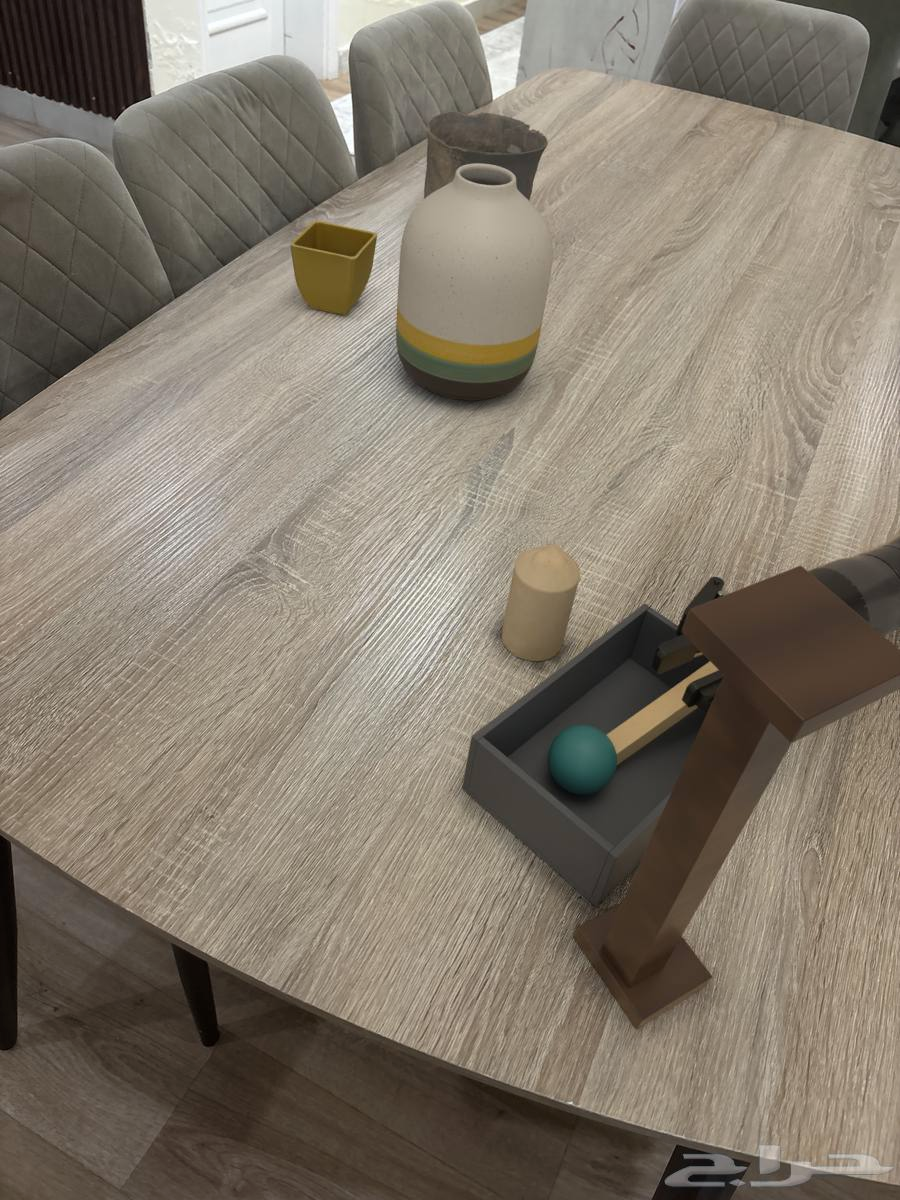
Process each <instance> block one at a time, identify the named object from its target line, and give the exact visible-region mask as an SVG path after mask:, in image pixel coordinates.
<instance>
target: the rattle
mask: <svg viewBox="0 0 900 1200" xmlns="http://www.w3.org/2000/svg"><path fill="white" fill-rule="evenodd" d="M716 671H718V669H717V668H716V667H715V666H714V665H713V664H712V663H711V662H708V663H707V664H705V665H704V666H703V667H701V668H700V669H698V670H697V671H696V672H694V673H693V674H691V675H690V676H689V677H687V678H686V679H684V680H683V681H682V682H680V683H679V684H677V685H676V686H674V687H673V688H672V689H670V690H669V691H667V692H666V693H665V694H663V695H662V696H660V697H659V698H658V699H656V700H655V701H653V702H652V703H651V704H649V705H648V706H646V707H645V708H643V709H642V710H641V711H639V712H638V713H636V714H635V715H634V716H632V717H631V718H629V719H628V720H627V721H625V722H624V723H622V724H621V725H620V726H618V727H617V728H615V729H614V730H612V731H611V732H610V733H608V734H607V735H606V734H605V733H604V732H602V731H601V730H599V729H597V728H595V727H592V726H589V725H575V726H571V727H568V728H566V729H564V730H563V731H561V732H560V733H559V734H558V735H557V736H556V737H555V738H554V739H553V741H552V743H551V745H550V748H549V751H548V767H549V770H550V773H551V775H552V777H553V778H554V780H555V781H556V782H557V784H558V785H560V786H561V787H562V788H563V789H565V790H567V791H569V792H571V793H574V794H580V795H587V794H592V793H595V792H598V791H600V790H601V789H603V788H604V787H605V786H607V784H608V783H609V782H610V781H611V779H612V778H613V776H614V774H615V771H616V767H617V765H618V764H620V763H621V762H622V761H624V760H625V759H627V758H628V757H629V756H631V755H632V754H634V753H635V752H636V751H638V750H639V749H641V748H642V747H643V746H645V745H646V744H648V743H649V742H650V741H652V740H653V739H655V738H656V737H657V736H659V735H660V734H662V733H663V732H664V731H666V730H667V729H669V728H670V727H671V726H673V725H674V724H676V723H677V722H678V721H680V720H681V719H683V718H684V717H685V716H687V715H688V714H690V713H691V712H692V711H694V710H695V709H697V708H698V707H697V706H696V705H695V706H692V707H688V706H687V705H686V704H685V703H684V702H683V701H682V698H683V695H684V693H685V690H686V688H687V686H688V685H689V684H690V683H691V682H693V681H695V680H697V679H700V678H702V677H704V676H706V675H709V674H711V673H713V672H716Z"/></svg>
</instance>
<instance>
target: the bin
mask: <svg viewBox="0 0 900 1200" xmlns="http://www.w3.org/2000/svg"><path fill="white" fill-rule="evenodd" d="M678 626H679V624H677V623H675V622H673V621H672V620H671V619H669V618H668V617H666V616H665V615H663V614H662V613H660V612H659V611H657V610H656V609H655V608H653V607H651V606H650V605H649V604H647V603H643V604H642V605H641V606H639V607H638V608H637V609H635V610H633V612H631V613H630V614H629V615H628V616H626V617H625V618H624V619H622V620H621V621H620V622H618V623H617V624H615V625H614V626H613V627H612V628H611V629H609V630H608V631H607V632H605V633H604V634H603V635H601V636H600V637H599V638H597V639H596V640H595V641H593V642H592V643H591V644H590V645H588V646H586V648H584V649H583V650H582V651H581V652H579V653H578V654H577V655H575V656H574V657H573V658H571V659H570V660H569V661H567V662H566V663H565V664H563V665H562V666H561V667H560V668H558V669H557V670H556V671H554V672H553V673H552V674H551V675H549V676H548V677H546V678H545V679H544V680H543V681H541V682H540V683H538V684H537V685H536V686H534V688H532V689H531V690H529V691H528V692H527V693H525V694H524V695H523V696H522V697H521V698H519V699H518V700H517V701H515V702H514V703H513V704H511V705H510V706H509V707H507V708H506V709H505V710H503V711H502V712H500V714H498V715H497V716H496V717H494V718H493V719H491V721H489V722H487V723H486V724H485V725H483V726H482V727H481V728H480V729H479V730H478V731H476V732H475V733H473V734H471V737H470V742H469V748H468V754H467V759H466V763H465V764H466V765H465V771H464V775H463V781H462V786H461V790H463V791H464V792H465V793H466V794H467V795H469V796H470V797H471V798H472V799H473V800H474V801H475V802H476V803H477V804H478V805H480V806H481V807H482V808H483V809H484V810H485V811H486V812H488V813H489V814H490V815H491V816H492V817H493V818H494V819H496V820H497V821H498V822H499V823H500V824H501V825H502V826H504V828H506V829H507V830H508V831H509V832H510V833H511V834H513V835H514V836H515V838H517V839H518V840H519V841H521V842H522V843H523V844H524V845H525V846H526V847H527V848H528V849H529V850H530V851H532V852H533V853H534V854H535V855H536V856H538V858H540V859H541V861H543V862H544V863H545V864H546V865H548V867H550V868H551V869H552V870H553V871H555V872H556V873H557V874H558V875H559V876H560V877H561V878H563V880H565V881H566V882H567V883H568V884H569V885H570V886H571V887H573V889H575V890H576V891H577V892H578V893H579V894H580V895H581V896H583V897H584V898H585V899H586V900H587V901H588V902H589V903H591V904H592V905H593V906H594V907H595V908H597V907H599V905H600V904H601V903H602V902H603V901H604V900H605V899H606V898H607V897H608V896H609V895H611V893H612V892H613V891H614V890H615V889H616V888H617V887H618V886H619V885H620V884H621V883H622V882H623V881H624V880H625V879H626V878H627V877H628V875H630V874H631V873H632V872H633V871H634V869H635V868H637V867H638V866H639V863H640V861H641V859H642V857H643V855H644V852H645V850H646V848H647V846H648V843H649V841H650V839H651V837H652V835H653V832H654V830H655V828H656V826H657V823H658V821H659V819H660V817H661V815H662V812H663V810H664V808H665V806H666V803H667V801H668V799H669V797H670V795H671V792H672V790H673V788H674V786H675V783H676V781H677V779H678V777H679V775H680V772H681V770H682V768H683V766H684V763H685V761H686V759H687V757H688V755H689V752H690V750H691V748H692V746H693V743H694V741H695V739H696V737H697V735H698V732H699V730H700V728H701V726H702V723H703V721H704V719H705V717H706V715H707V712H708V710H709V708H710V706H711V705H709V706H707V707H704V708H697V709H695V710H694V711H692V712H691V713H690V714H688V715H687V716H685V717H684V718H683V719H681V720H680V721H678V722H677V723H676V724H674V725H673V726H671V727H670V728H669V729H667V730H666V731H664V732H663V733H662V734H660V735H659V736H657V737H656V738H655V739H653V740H652V741H650V742H649V743H648V744H646V745H645V746H643V747H642V748H641V749H639V750H638V751H636V752H635V753H634V754H632V755H631V756H629V757H628V758H627V759H625V760H624V761H622V762H621V763H620V764H618V765H617V767H616V771H615V774H614V776H613V778H612V779H611V781H610V782H609V783H608V784H607V786H605V787H604V788H603V789H601V790H600V791H598V792H595V793H592V794H587V795H580V794H574V793H571V792H569V791H567V790H565V789H563V788H562V787H561V786H560V785H558V784H557V782H556V781H555V780H554V778H553V777H552V775H551V773H550V770H549V767H548V751H549V748H550V745H551V743H552V741H553V739H554V738H555V737H556V736H557V735H558V734H559V733H560V732H561V731H563V730H564V729H566V728H568V727H571V726H575V725H589V726H592V727H595V728H597V729H599V730H601V731H602V732H604V733H605V734H606V735H607V734H608V733H610V732H611V731H612V730H614V729H615V728H617V727H618V726H620V725H621V724H622V723H624V722H625V721H627V720H628V719H629V718H631V717H632V716H634V715H635V714H636V713H638V712H639V711H641V710H642V709H643V708H645V707H646V706H648V705H649V704H651V703H652V702H653V701H655V700H656V699H658V698H659V697H660V696H662V695H663V694H665V693H666V692H667V691H669V690H670V689H672V688H673V687H674V686H676V685H677V684H679V683H680V682H682V681H683V680H684V679H686V678H687V677H689V676H690V675H691V674H693V673H694V672H696V671H697V670H698V669H700V668H701V667H703V666H704V665H705V664H707V663H708V662H710V661H709V660H708V659H707V658H706V657H705V655H703V656H699V657H694V658H693V660H692V661H690V662H687V663H685V664H683V665H680V666H678V667H676V668H673V669H671V670H669V671H666V672H664V673H661V674H657V673H656V672H655V671H654V670H653V668H652V667H651V666H652V663H653V661H654V660H653V659H654V656H655V653H656V651H657V648H658V646H659V645H660V644H661V643H663V642H665V641H668V640H670V639H673V638H675V637H678V636H677V634H676V632H677V629H678Z"/></svg>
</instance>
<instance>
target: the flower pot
mask: <svg viewBox="0 0 900 1200" xmlns="http://www.w3.org/2000/svg"><path fill="white" fill-rule="evenodd" d="M377 240H378V233H377V232H373V231H370V230H364V229H359V228H354V227H350V226H345V225H340V224H336V223H331V222H326V221H321V220H314V221H313V222H312V223H310V224H309V225H308V226H307V227H306V228H304V229H303V231H302V232H301V233H299V235H298V236H296V237H295V238H294V240H292V241H291V242H290V246H289V247H290V253H291V261H292V266H293V267H292V269H293V273H294V280H295V283H296V286H297V289H298V291H299V293H300V295H301V296H302V298H303V300H304V301H305V303H306V304H307V305H308V306H309V308H311V309H314V310H319V311H324V312H328V313H333V314H338V315H342V316H345V315H347V314H348V313H349V312H350V310H351V309H352V308H353V307H354V305H355V304H357V302H358V301H359V299H360V298H361V296H362V294H363V292H364V291H365V289H366V287H367V285H368V282H369V280H370V277H371V275H372V270H373V267H374V266H373V265H374V259H375V253H376V246H377Z"/></svg>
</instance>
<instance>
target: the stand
mask: <svg viewBox="0 0 900 1200" xmlns="http://www.w3.org/2000/svg"><path fill="white" fill-rule="evenodd" d="M808 571H809V570H807V569H806V568H805V567H803V566H802V565H798V566H796V567H793V568H791V569H788V570H786V571H782V572H781V573H778V574H774V575H773V576H769V577H767V578H764V579H762V580H760V581H757V582H755V583H753V584H750V585H747V586H744V587H742V588H740V589H737V590H734V591H731V592H730V593H729V594H727V595H724V596H722V597H719V598H717V599H714V600H711V601H709V602H706V603H704V604H701V605H699V606H696V607H694V608H691V609H690V610H689V612H688V615H687V618H686V620H685V623H684V625H683V628H682V631H681V632H682V633H683V634H684V635H685V636H686V637H687V638H688V639H689V640H690V641H691V642H692V643H693V644H694V645H695V646H696V647H697V648H698V649H699V650H700V651H701V652H702V653H703V654H704V655H705V657H706V658H707V659H708V660H709V661H710V662H711V663H712V664H713V665H714V666H715V667H716V668H717V669H718V670H719V671H720V672H721V673H722V674H723V675H724V677H723V679H722V681H721V684H720V686H719V688H718V690H717V692H716V695H715V697H714V699H713V701H712V704H711V706H710V708H709V710H708V712H707V715H706V717H705V719H704V721H703V723H702V726H701V728H700V730H699V732H698V735H697V737H696V739H695V741H694V743H693V746H692V748H691V750H690V752H689V755H688V757H687V759H686V761H685V763H684V766H683V768H682V770H681V772H680V775H679V777H678V779H677V781H676V783H675V786H674V788H673V790H672V792H671V795H670V797H669V799H668V801H667V803H666V806H665V808H664V810H663V812H662V815H661V817H660V819H659V821H658V823H657V826H656V828H655V830H654V832H653V835H652V837H651V839H650V841H649V843H648V846H647V848H646V850H645V852H644V855H643V857H642V859H641V861H640V863H639V864H638V865H637V867H636V870H635V872H634V875H633V876H632V879H631V882H630V883H629V886H628V888H627V890H626V892H625V894H624V897H623V898H622V901H621V903H619V904H616V905H615V906H613V907H611V908H610V909H607V910H606V911H604V912H602V913H600V914H598V915H596V916H595V917H593V918H591V919H589V920H587V921H585V922H583V923H582V924H580V925H578V926H577V927H576V929H575V931H574V935H573V939H574V940H575V942H576V943H577V945H578V946H579V948H580V949H581V951H582V952H583V953H584V955H585V956H586V958H587V959H588V961H589V962H590V964H591V966H592V967H593V968H594V970H595V972H597V974H598V975H599V977H600V978H601V980H602V981H603V983H604V984H605V986H606V987H607V989H608V990H609V991H610V993H611V994H612V996H613V997H614V999H615V1000H616V1002H617V1003H618V1004H619V1005H618V1006H619V1007H620V1008H621V1010H622V1011H623V1012H624V1013H625V1015H626V1016H627V1018H628V1019H629V1021H630V1022H631V1024H632V1025H633V1027H634V1028H635V1030H639V1029H640V1028H642V1027H644V1026H645V1025H647V1024H648V1023H650V1022H652V1021H653V1020H654V1019H656V1018H658V1017H659V1016H661V1015H663V1014H664V1013H666V1012H667V1011H669V1010H671V1009H672V1008H673V1007H676V1006H677V1005H679V1004H681V1003H682V1002H683V1001H685V1000H687V999H688V998H690V997H692V996H693V995H695V994H697V993H698V992H700V991H701V990H703V989H704V988H706V987H707V986H708V984H709V983H710V981H711V980H712V978H713V975H712V974H711V973H710V971H709V970H708V969H707V967H706V966H705V965H704V964H703V962H702V961H701V960H700V958H699V957H698V956H697V954H696V953H695V952H694V950H693V949H692V948H691V946H690V945H689V944H688V943H687V941H686V940H685V938H684V937H683V935H684V933H685V931H686V930H687V929H688V926H689V924H690V922H691V921H692V919H693V918H694V916H695V914H696V912H697V910H698V909H699V907H700V905H701V903H702V902H703V900H704V898H705V897H706V895H707V893H708V891H709V890H710V888H711V886H712V884H713V882H714V880H715V879H716V878H717V875H718V873H719V872H720V870H721V868H722V866H724V865H723V864H724V863H725V861H726V859H727V858H728V856H729V854H730V852H731V850H732V849H733V847H734V845H735V844H736V842H737V840H738V838H739V837H740V835H741V833H742V831H743V830H744V828H745V826H746V824H747V823H748V821H749V819H750V818H751V816H752V814H753V812H754V810H755V808H756V807H757V805H758V803H759V801H760V799H761V798H762V796H763V794H764V793H765V791H766V789H767V787H768V786H769V784H770V782H771V781H772V779H773V777H774V776H775V774H776V772H777V770H778V768H779V766H780V764H781V763H782V761H783V759H784V757H785V756H786V754H787V752H788V750H789V749H790V747H791V745H792V744H793V743H795V742H797V741H799V740H801V739H804V738H805V737H807V736H809V735H811V734H813V733H815V732H818V731H819V730H821V729H823V728H825V727H827V726H829V725H831V724H833V723H835V722H837V721H839V720H841V719H843V718H845V717H848V716H849V715H851V714H853V713H855V712H857V711H859V710H861V709H863V708H865V707H867V706H869V705H871V704H873V703H875V702H877V701H878V700H881V699H883V698H884V697H887V696H889V695H891V694H893V693H895V692H897V691H899V690H900V648H899V647H898V646H897V645H895V644H894V643H893V642H892V641H890V640H889V639H888V638H887V637H886V636H885V637H884V636H883V635H882V634H881V633H880V632H878V631H877V630H876V629H875V628H874V627H873V626H871V625H870V624H869V623H868V622H867V621H866V620H864V619H863V618H862V617H861V616H860V615H859V614H857V613H856V612H855V611H854V610H853V609H851V608H850V607H849V606H848V605H847V604H846V603H844V602H843V601H842V600H841V599H840V598H839V597H837V596H836V595H835V594H834V593H833V592H832V591H830V590H829V589H828V588H827V587H826V586H824V585H823V584H822V583H821V582H820V581H819V580H817V579H816V578H815V577H814V576H813V575H812V574H810V573H809V572H808Z"/></svg>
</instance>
